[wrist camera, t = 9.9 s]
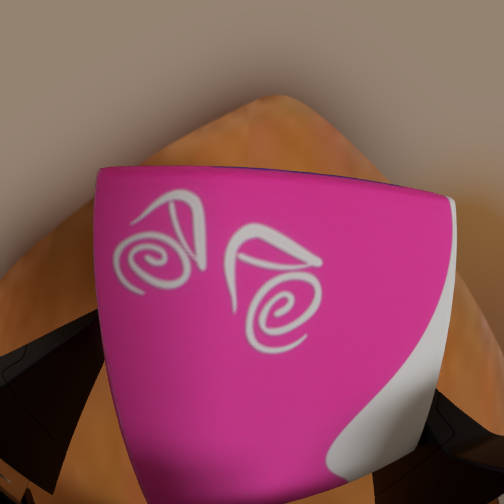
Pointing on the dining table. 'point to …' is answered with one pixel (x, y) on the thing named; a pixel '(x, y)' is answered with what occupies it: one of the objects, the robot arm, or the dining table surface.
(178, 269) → the supplement box
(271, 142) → the dining table surface
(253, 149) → the dining table surface
